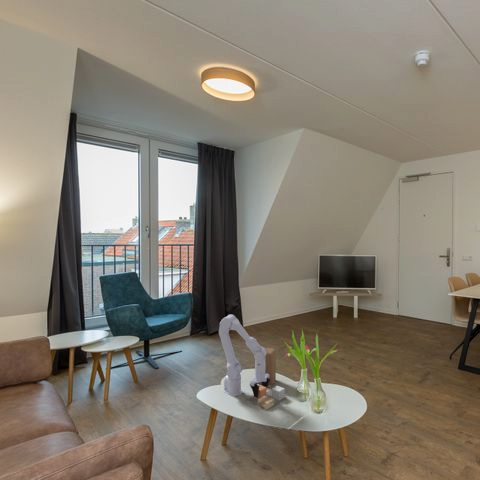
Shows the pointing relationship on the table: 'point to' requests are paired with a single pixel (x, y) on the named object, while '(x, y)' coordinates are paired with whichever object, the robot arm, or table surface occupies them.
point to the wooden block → (270, 365)
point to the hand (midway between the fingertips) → (260, 394)
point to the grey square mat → (268, 394)
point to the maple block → (266, 402)
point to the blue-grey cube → (278, 393)
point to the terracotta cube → (261, 391)
